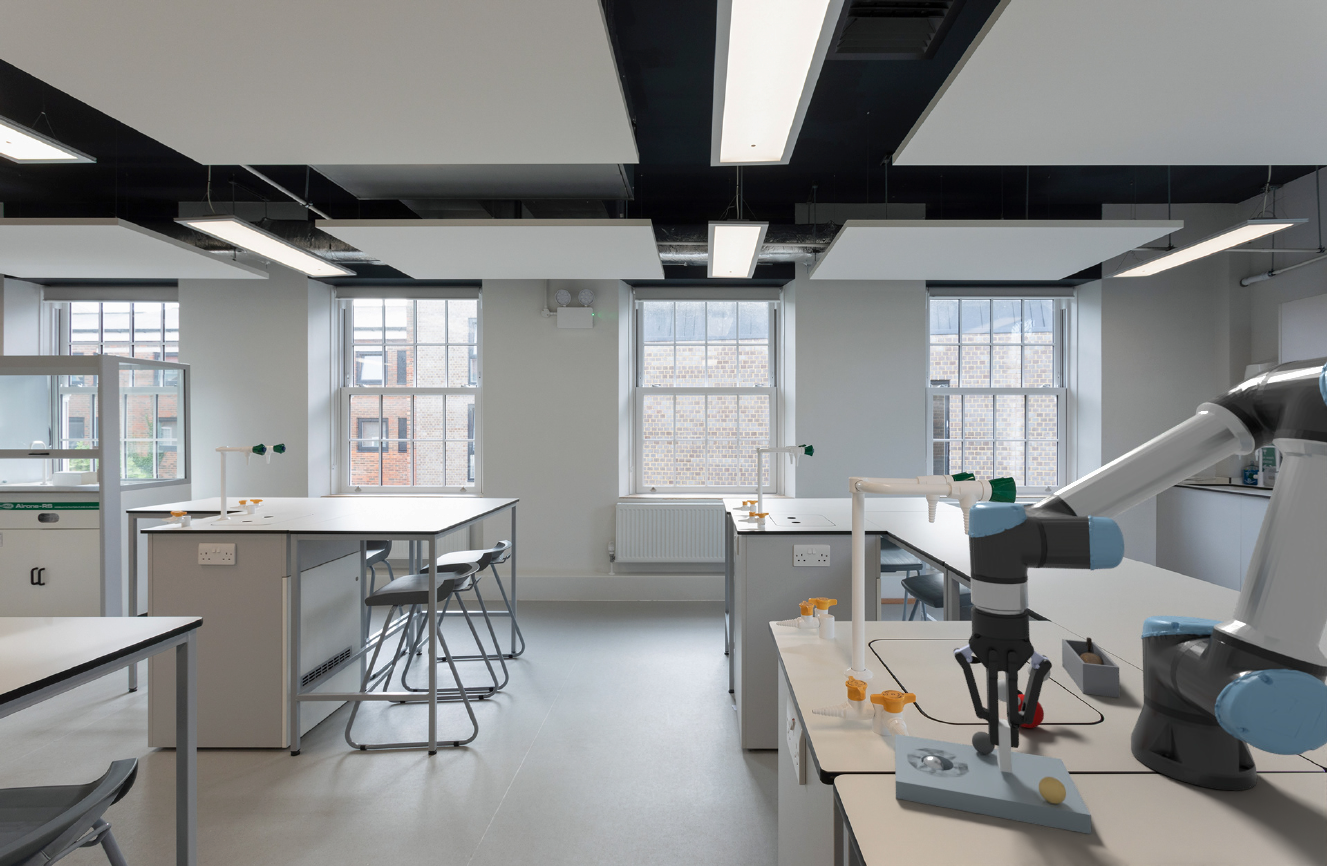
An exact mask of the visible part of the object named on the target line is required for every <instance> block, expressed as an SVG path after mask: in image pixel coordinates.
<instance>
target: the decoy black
mask: <svg viewBox="0 0 1327 866" xmlns="http://www.w3.org/2000/svg"><path fill="white" fill-rule="evenodd" d="M971 744H972V746H974V748H975V749H976V750H977V751H978V752H979V753H982V754H990V753H991V752H992V751H993V750H994V749H996V748H995V747H996V745H991V742H990V740H989V732H985V731H977V732H975V733H974V734H973V735H972V737H971Z"/></svg>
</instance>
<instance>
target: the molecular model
mask: <svg viewBox="0 0 1327 866" xmlns="http://www.w3.org/2000/svg"><path fill="white" fill-rule="evenodd" d="M1027 666H1028V667H1027V673H1028V675H1029V676H1030V671H1031V668H1032V665H1031V663H1030V662H1029V664H1028V665H1027ZM1050 678H1051V669H1050V670H1049V671H1048V673H1047V674H1046V675H1045V676H1044V680H1043V682H1045V681H1048V680H1049V679H1050ZM1024 696H1025V693H1023V694H1022V693H1021V694H1020V693H1018V708H1019V712H1020V711H1021V708H1022V704H1023V700H1024ZM998 701H1000V702H1003V703H1006V679H1004V678H1002V679H998ZM1044 715H1045V713H1044V708H1043V707H1042V704H1041V703H1040V702H1039V701H1038V704H1037V708H1036V712H1035V716H1034V720H1033V723H1032V724H1022V725H1020V727H1022V728H1025V729H1033V728H1036V727H1039V726H1040V725H1041V724H1042V722H1043V720H1044V718H1045V716H1044Z"/></svg>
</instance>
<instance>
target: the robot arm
mask: <svg viewBox="0 0 1327 866" xmlns="http://www.w3.org/2000/svg"><path fill="white" fill-rule="evenodd" d="M1269 445H1270V446H1271V445H1274V447H1276V449H1277V450H1278V452H1280V453H1281V455H1282V460H1281V463H1280V466H1279V470H1278V473H1277V477H1276V479H1275V482H1274V486H1273V489H1272V492H1271V494H1270V498H1269V501H1268V504H1267V508H1266V511H1265V514H1264V517H1263V520H1262V522H1261V523H1262V524H1261V525H1260V530H1259V533H1258V536H1257V539H1256V542H1255V545H1254V549H1253V552H1252V554H1251V557H1250V561H1249V563H1248V567H1247V570H1246V572H1245V573H1246V574H1245V577H1244V580H1243V583H1242V585H1241V589H1240V593H1239V595H1238V598H1237V602H1236V605H1235V607H1234V611H1233V614H1232V617H1231V618H1229V619H1228V620H1225V621H1222V620H1216V619H1208V618H1201V617H1194V616H1184V615H1183V616H1180V615H1152V616H1149V617H1146V619H1144V621H1143V624H1142V633H1141V637H1140V639H1141V640H1142V641H1141V642H1142V644H1141V645H1142V681H1143V684H1142V687H1143V705H1142V708H1141V711H1140V713H1139V715H1138V718H1137V720H1136V723H1135V725H1134V727H1133V730H1132V732H1131V734H1130V750H1131V753H1132V755H1133V756H1134V758H1136V759H1137V760H1138V761H1139V762H1141V763H1142V764H1144V765H1145V766H1147V767H1149V768H1151V770H1154V771H1156V772H1158V773H1161V774H1163V775H1165V776H1167V777H1170V778H1173V779H1176V780H1179V781H1181V782H1184V783H1188V784H1192V785H1196V786H1199V787H1205V788H1209V789H1216V790H1224V791H1243V790H1248V789H1251V788H1253V787H1254V786H1256V784H1257V766H1256V763H1255V760H1254V757H1253V755H1252V753H1251V750H1250V747H1249V745H1250V746H1251V747H1253V748H1256V749H1258V750H1260V751H1263V752H1266V753H1270V754H1274V755H1281V756H1296V755H1302V754H1304V753H1306V752H1308V751H1315V750H1318V749H1320V748H1322V747H1323V746H1325V745H1327V685H1326V680H1327V657H1326V656H1325V654H1323V652H1322V651H1321V649H1320V646H1319V645H1320V642H1321V639H1322V636H1323V633H1324V629H1325V626H1326V623H1327V356H1322V357H1314V358H1309V359H1308V358H1307V359H1301V360H1300V359H1299V360H1292V361H1287V362H1282V363H1279V364H1276V365H1273V366H1270V367H1267V368H1265V369H1264V370H1263V369H1262V370H1261V371H1259V372H1257V373H1255V374H1252V375H1251V376H1249V377H1247V378H1245V379H1244V380H1242V381H1240V382H1238V383H1236V384H1235V385H1232V386H1231V387H1229V388H1228V389H1225V390H1224V391H1223V392H1221V393H1219V394H1217V395H1215V396H1214V397H1212V398H1210V399H1208V400H1206V401H1204V402H1202V403H1200V405H1198V406H1197V407H1196V411H1195V415H1193V416H1191V417H1190V418H1188V419H1186V420H1184V421H1183V422H1180V423H1179V424H1178V425H1175V426H1174V427H1172V428H1170V429H1168V430H1165V432H1163V433H1160V434H1159V435H1157V436H1155V437H1153V438H1152V439H1149V440H1148V441H1146V442H1145V443H1143V444H1140V445H1139V446H1137V447H1135V448H1133V449H1131V450H1130V451H1128V452H1126V453H1124V454H1122V455H1121V456H1119V457H1117V458H1116V459H1113V460H1112V461H1110V462H1108V463H1105V465H1103V466H1101V467H1099V468H1097V469H1096V470H1093V471H1092V472H1090V473H1088V474H1087V475H1085V476H1083V477H1082V478H1079V479H1078V480H1075V481H1074V482H1072V483H1070V484H1068V485H1067V486H1064V487H1063V488H1061V489H1059V490H1058V491H1056V492H1054V493H1052V494H1050V495H1048V496H1046V497H1043V499H1041V500H1038V501H1037V502H1035V503H1025V504H1020V503H1018V502H1017V503H1015V502H1005V501H1003V502H1002V501H1001V502H1000V501H999V502H998V501H991V502H990V501H985V502H984V501H983V502H977V503H974V504H973V505H972V506H971V507H969V512H968V532H967V536H968V545H969V546H968V547H969V561H970V562H969V564H970V602H971V604H972V607H971V608H970V612H971V613H970V614H971V635H970V637H969V639H968V644H967V645H965V646H962V647H961V648H960V647H955V648H954V649H953V655H954V659H955V661H957V663H958V664H959V666H960V667H961V669H962V671H963V674H964V677H965V681H966V684H967V688H968V691H969V694H970V697H971V698H970V699H971V702H972V706H973V708H974V713H975V716H976V717H977V718H978V719H979V720H980V719H981V720H982V719H983V720H985V721H986V722H987V723H988V725H987V726H988V727H987V729H988V730H987V731H988V732H987V733H988V734H989V740H990V742H991V745H995V746H996V749H997V762H998V765H999V768H1000V771H1004V772H1011V773H1012V762H1011V751H1012V749H1013V748H1014V749H1018V748H1019V746H1020V738H1019V736H1020V734H1019V733H1020V730H1019V729H1020V728H1021V726H1020V725H1022V724H1032V723H1033V720H1034V716H1035V712H1036V708H1037V704H1038V702H1039V698H1040V695H1041V692H1042V688H1043V683H1044V681H1043V680H1044V676H1045V675H1046V674H1047V673H1048V671H1049V670H1050V671H1051V669H1052V667H1053V664H1052V662H1051V661H1050V659H1049V657H1048V656H1046V655H1045V654H1043V655H1042V654H1040V653H1039V652H1037V651H1036V650H1035V647H1034V646H1033V644H1032V643H1031V639H1030V638H1031V637H1030V615H1029V611H1027V609H1028V608H1029V588H1028V587H1029V585H1028V581H1029V578H1028V577H1029V576H1028V569H1063V570H1064V569H1065V570H1067V569H1068V570H1089V571H1094V570H1108V569H1109V570H1110V569H1115V568H1117V567H1118V566H1120V564H1121V563H1122V561H1123V558H1124V555H1125V538H1124V535H1123V531H1122V529H1121V528H1120V526H1119V524H1118V522H1116V520H1114V518H1115V517H1117V516H1118V515H1121V514H1123V513H1124V512H1126V511H1128V510H1130V509H1132V508H1134V507H1136V506H1137V505H1140V504H1142V503H1143V502H1145V501H1147V500H1149V499H1151V498H1153V497H1154V496H1156V495H1159V494H1160V493H1162V492H1165V491H1166V490H1168V489H1169V488H1172V487H1173V486H1175V485H1177V484H1178V485H1179V483H1181V482H1183V481H1185V480H1187V479H1189V478H1190V477H1193V476H1195V475H1197V474H1198V473H1200V472H1202V471H1204V470H1206V469H1208V468H1210V467H1212V466H1213V465H1215V464H1217V463H1220V462H1221V461H1223V460H1225V459H1227V458H1228V457H1230V456H1232V455H1237V456H1239V455H1240V456H1247V455H1249V454H1252V453H1253V452H1255V451H1258V450H1259V449H1261V448H1263V447H1267V446H1269ZM972 654H974V656H976V658H977V659H978V661H980V663H981V664H982V666H983V667H984V668H985V674H986V675H985V677H986V680H985V681H986V704H987V705H986V707H984V706H983V704H982V699H981V697H980V693H979V689H978V685H977V683H976V678H975V675H974V672H973V670H972V669H973V668H972V665H971V663H972V662H973V656H972ZM1029 660H1030V662H1029ZM1027 662H1029V664H1030V663H1031V665H1032V668H1031V671H1030V675H1029V676H1028V680H1027V684H1026V688H1025V692H1024V694H1025V696H1024V700H1023V704H1022V708H1021V711H1020V712H1019V708H1018V695H1019V685H1018V683H1019V682H1018V681H1019V673H1018V672H1020V670H1021V669H1022V668H1023V667H1024V666H1025V665H1026V663H1027ZM1000 672H1004V673H1005V680H1006V702H1005V703H1006V717H1007V718H1006V719H1004V718H1003V719H1002V718H1000V712H999V699H998V680H999V673H1000Z"/></svg>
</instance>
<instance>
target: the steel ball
mask: <svg viewBox="0 0 1327 866" xmlns="http://www.w3.org/2000/svg"><path fill="white" fill-rule="evenodd" d="M922 763H923V764H924V765H926V766H927V767H930V768H932V769H935V770H941V771H944V766H943V763H942V762H941V761H940V760H939V759H938V758H937V757H934V756H927V757H926V758H924V759H923V761H922Z"/></svg>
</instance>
